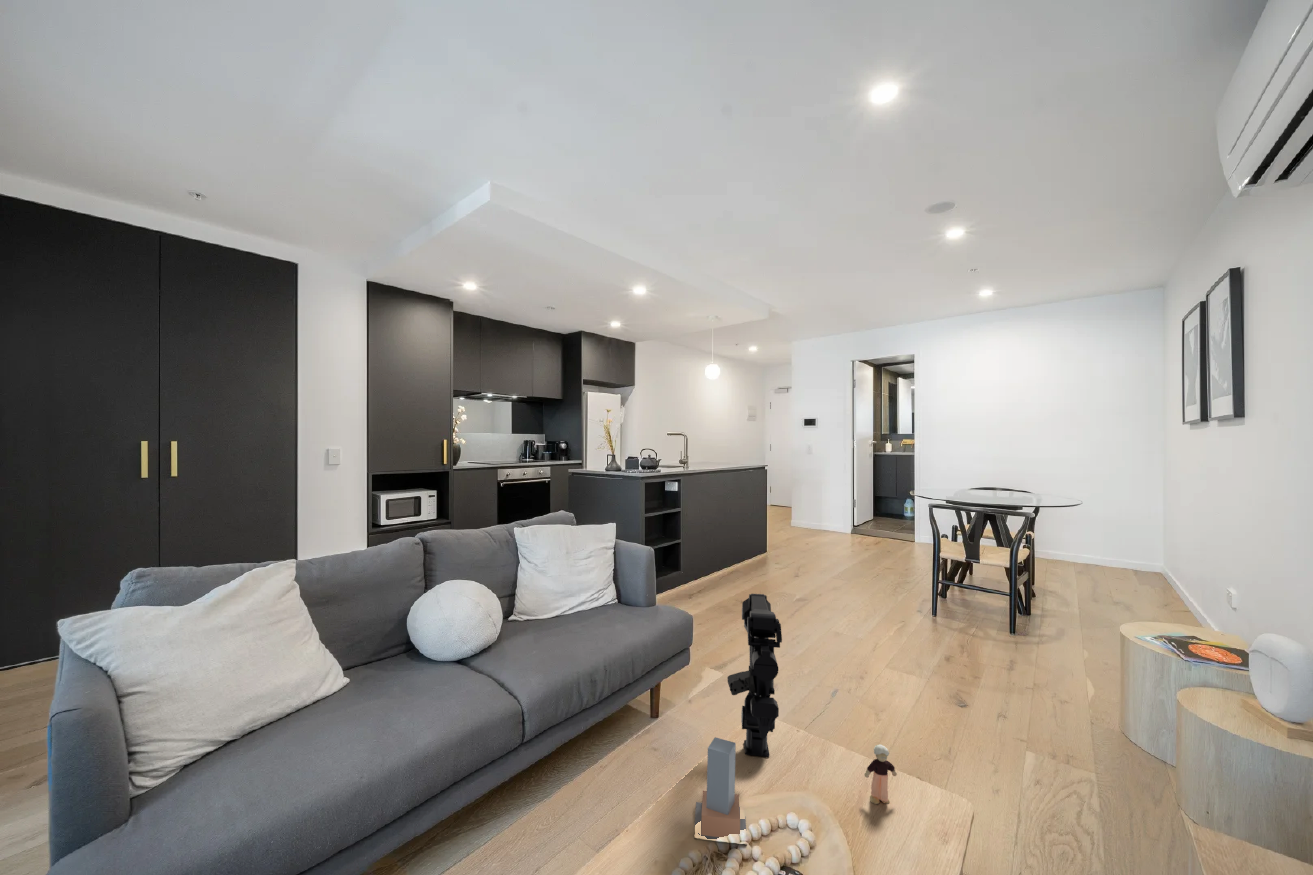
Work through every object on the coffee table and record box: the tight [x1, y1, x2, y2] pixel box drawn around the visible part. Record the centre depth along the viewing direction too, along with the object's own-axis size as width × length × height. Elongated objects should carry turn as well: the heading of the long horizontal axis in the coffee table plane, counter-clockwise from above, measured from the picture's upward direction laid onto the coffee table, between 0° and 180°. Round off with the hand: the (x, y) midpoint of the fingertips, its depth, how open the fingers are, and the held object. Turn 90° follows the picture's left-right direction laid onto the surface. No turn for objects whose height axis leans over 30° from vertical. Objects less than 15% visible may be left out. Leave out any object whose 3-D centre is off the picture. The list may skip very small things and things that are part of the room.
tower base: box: [694, 790, 747, 839], centre depth 109 cm, size 10×11×5 cm
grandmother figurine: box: [863, 744, 898, 805], centre depth 119 cm, size 8×4×13 cm, turn 105°
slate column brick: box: [706, 736, 737, 815], centre depth 108 cm, size 5×5×12 cm
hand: (761, 728), depth 125 cm, fingers open, 9 cm apart
